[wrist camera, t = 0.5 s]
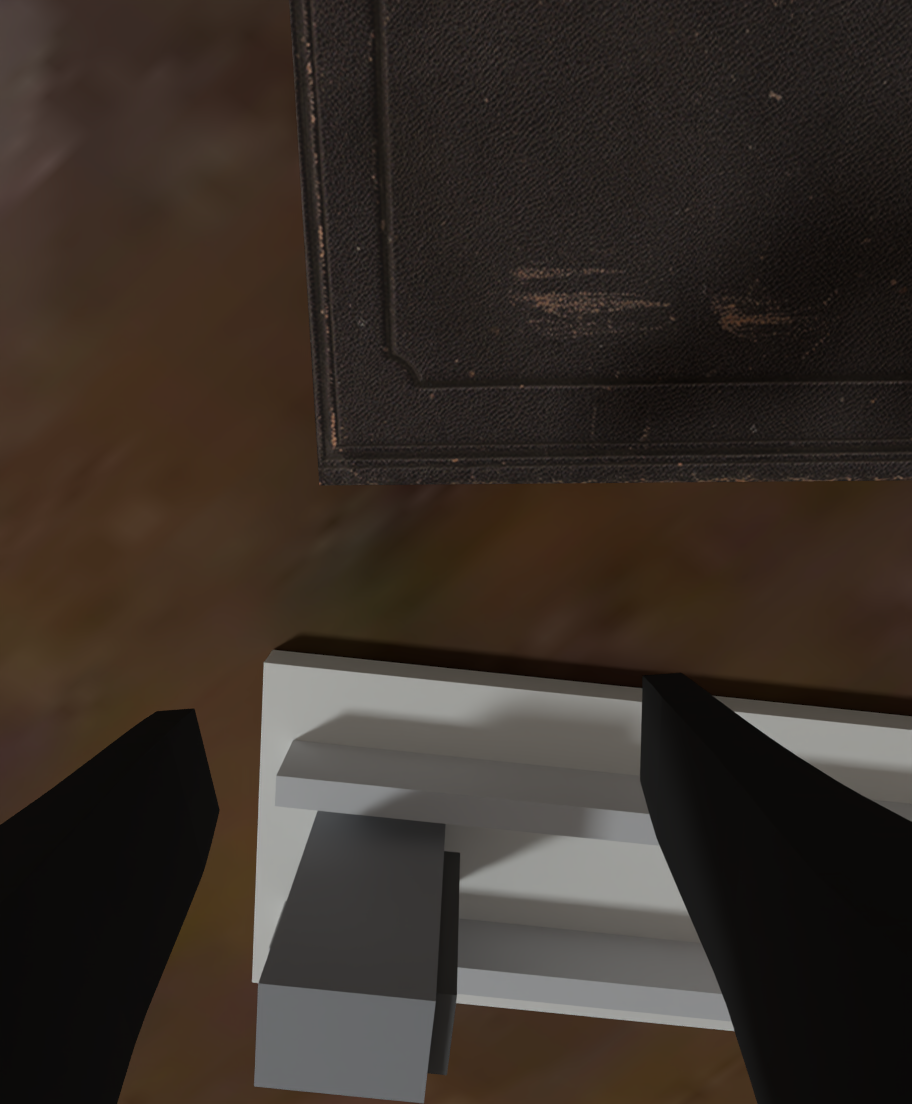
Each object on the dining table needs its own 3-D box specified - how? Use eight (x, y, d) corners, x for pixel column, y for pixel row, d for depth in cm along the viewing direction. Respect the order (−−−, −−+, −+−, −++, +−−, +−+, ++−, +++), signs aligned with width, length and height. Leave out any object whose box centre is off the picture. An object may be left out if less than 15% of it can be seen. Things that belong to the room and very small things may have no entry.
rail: (866, 1020, 26) (1036, 1301, 18) (260, 959, 26) (169, 1216, 18) (961, 721, 23) (1214, 906, 15) (272, 649, 23) (169, 798, 15)
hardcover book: (1107, 465, 21) (1182, 478, 19) (334, 473, 22) (319, 485, 20) (1255, -202, 17) (1373, -288, 15) (298, -172, 18) (272, -248, 15)
